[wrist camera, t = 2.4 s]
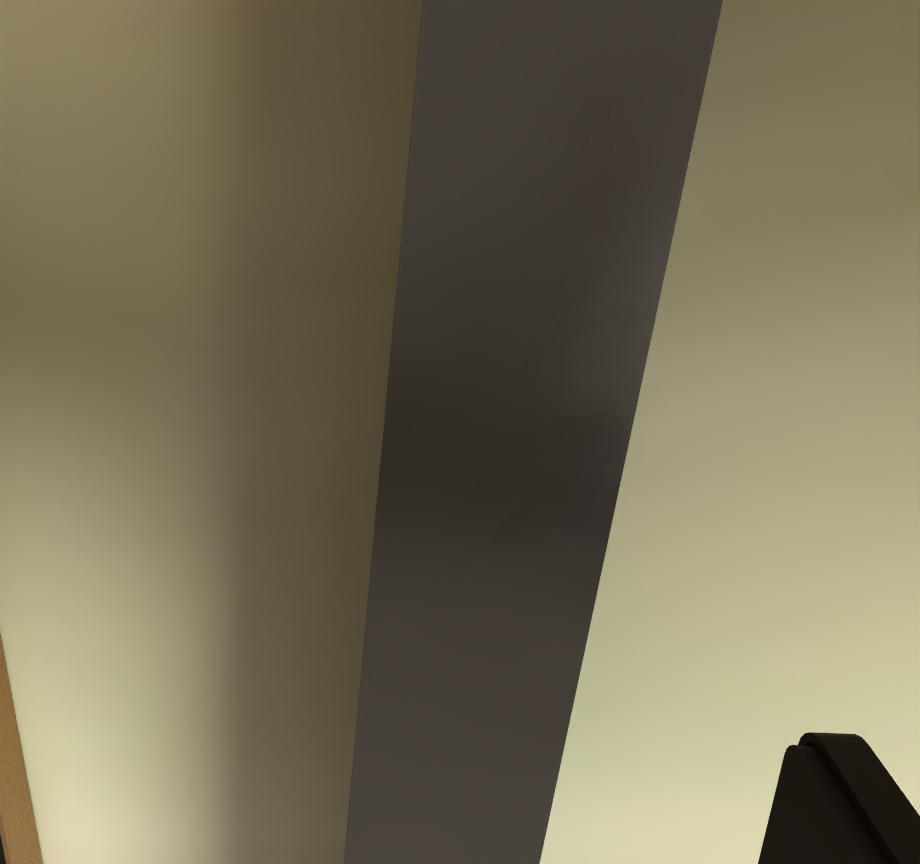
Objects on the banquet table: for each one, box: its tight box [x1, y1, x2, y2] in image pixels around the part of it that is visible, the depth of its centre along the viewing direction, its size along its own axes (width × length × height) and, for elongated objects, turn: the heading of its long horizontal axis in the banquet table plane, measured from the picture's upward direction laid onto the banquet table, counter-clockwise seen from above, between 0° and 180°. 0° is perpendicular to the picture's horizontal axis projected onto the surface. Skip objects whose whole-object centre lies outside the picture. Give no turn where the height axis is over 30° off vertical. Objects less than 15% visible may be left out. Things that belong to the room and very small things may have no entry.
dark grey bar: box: [344, 0, 723, 864], centre depth 13 cm, size 3×26×5 cm, turn 173°
